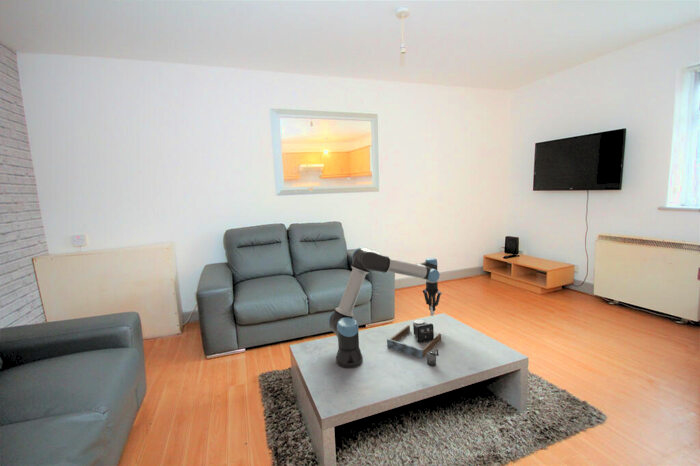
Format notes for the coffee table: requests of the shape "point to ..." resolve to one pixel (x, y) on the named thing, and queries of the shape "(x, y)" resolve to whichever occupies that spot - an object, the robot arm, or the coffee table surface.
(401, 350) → the bay
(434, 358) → the winch drum
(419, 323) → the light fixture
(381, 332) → the coffee table surface
